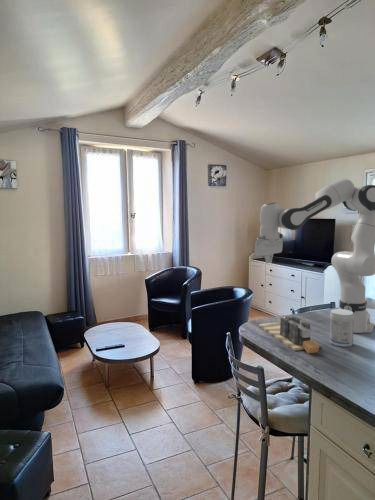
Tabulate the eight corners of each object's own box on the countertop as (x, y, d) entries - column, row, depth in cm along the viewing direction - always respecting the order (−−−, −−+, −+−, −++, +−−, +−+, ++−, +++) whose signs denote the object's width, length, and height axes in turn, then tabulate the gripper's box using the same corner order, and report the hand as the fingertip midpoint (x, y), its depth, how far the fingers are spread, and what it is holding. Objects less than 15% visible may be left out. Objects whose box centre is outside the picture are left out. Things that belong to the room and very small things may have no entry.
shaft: (274, 325, 162) (274, 313, 162) (285, 324, 164) (285, 312, 163) (300, 341, 141) (300, 327, 140) (312, 339, 142) (312, 326, 142)
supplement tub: (337, 338, 154) (338, 307, 152) (357, 344, 146) (358, 312, 144) (325, 342, 148) (326, 311, 147) (345, 349, 140) (346, 316, 139)
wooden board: (259, 326, 171) (259, 308, 171) (281, 324, 175) (281, 306, 174) (294, 350, 140) (294, 329, 139) (320, 347, 143) (321, 326, 142)
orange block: (303, 341, 140) (309, 348, 136) (312, 340, 141) (319, 346, 137) (302, 346, 141) (308, 353, 137) (311, 345, 142) (317, 352, 138)
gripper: (262, 236, 153) (262, 265, 154) (285, 234, 167) (284, 261, 169) (251, 236, 158) (251, 264, 159) (274, 234, 172) (273, 260, 173)
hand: (268, 263), depth 164 cm, fingers closed
